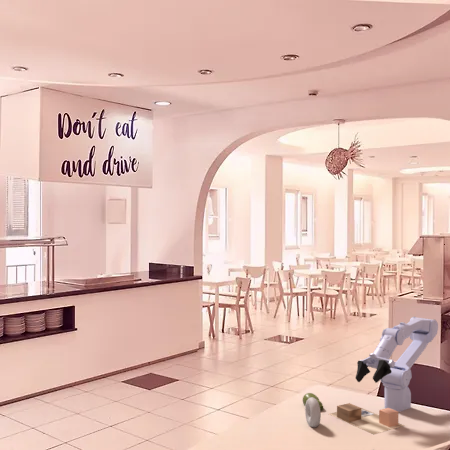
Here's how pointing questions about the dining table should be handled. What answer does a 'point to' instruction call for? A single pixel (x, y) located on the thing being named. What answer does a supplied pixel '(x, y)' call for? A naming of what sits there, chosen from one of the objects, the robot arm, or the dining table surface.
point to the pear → (313, 397)
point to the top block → (388, 417)
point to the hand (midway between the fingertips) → (365, 380)
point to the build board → (369, 422)
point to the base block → (349, 412)
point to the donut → (312, 412)
